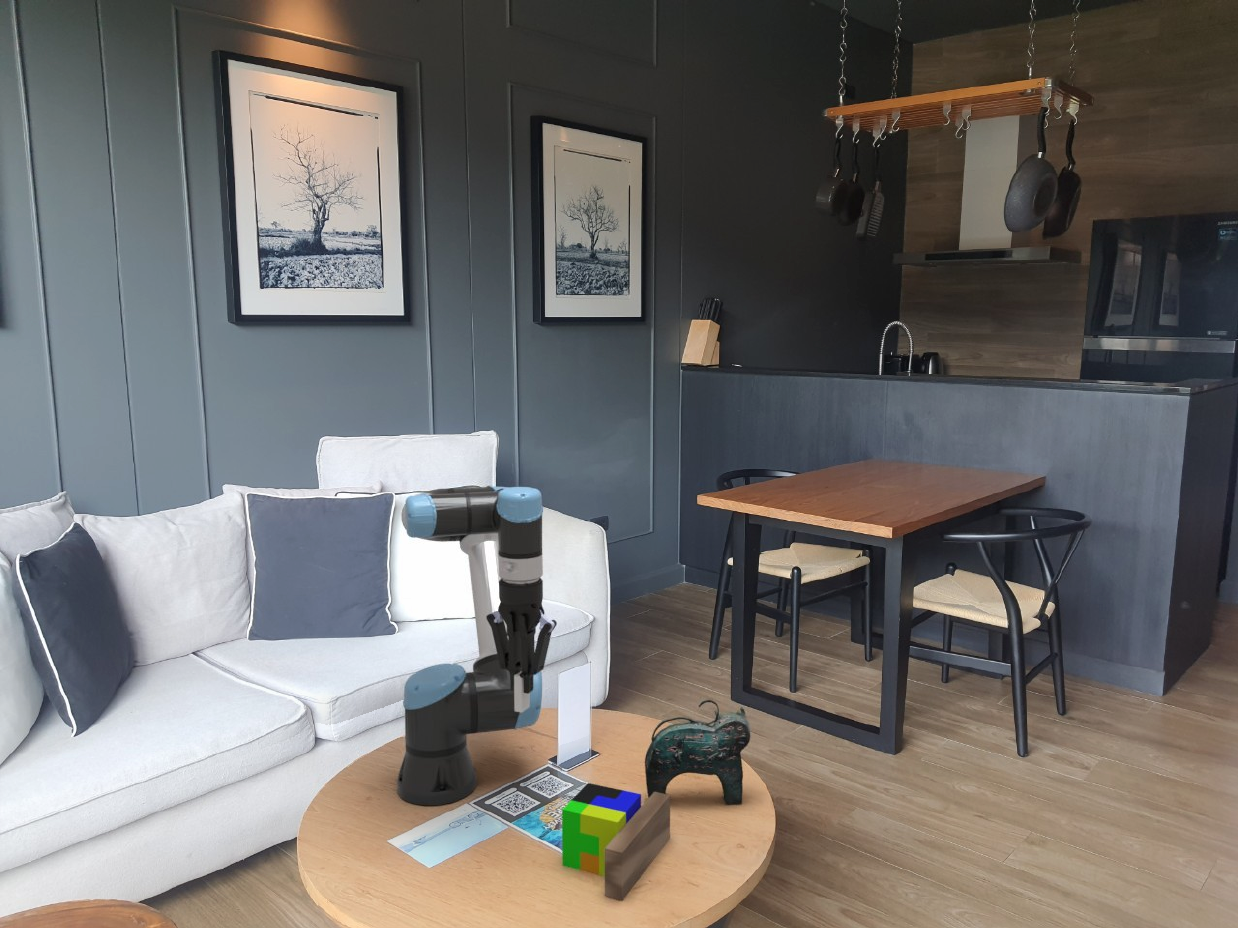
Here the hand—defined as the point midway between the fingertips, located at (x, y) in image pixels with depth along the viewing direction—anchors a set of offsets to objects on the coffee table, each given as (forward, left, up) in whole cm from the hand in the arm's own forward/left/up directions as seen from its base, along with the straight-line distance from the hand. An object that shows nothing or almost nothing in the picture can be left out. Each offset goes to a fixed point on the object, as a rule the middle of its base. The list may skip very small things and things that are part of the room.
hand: (522, 708), depth 161 cm
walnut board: (+23, -2, -23) cm, 32 cm away
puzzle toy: (+17, -2, -23) cm, 28 cm away
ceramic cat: (+25, +22, -23) cm, 40 cm away
